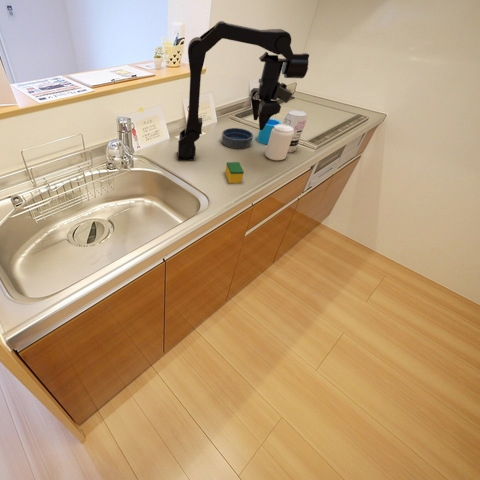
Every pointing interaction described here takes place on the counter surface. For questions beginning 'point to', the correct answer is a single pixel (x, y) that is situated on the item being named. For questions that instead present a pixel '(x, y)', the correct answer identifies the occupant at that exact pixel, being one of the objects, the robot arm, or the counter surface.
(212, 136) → the counter surface
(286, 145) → the beverage can
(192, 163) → the counter surface
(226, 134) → the bowl
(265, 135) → the mug
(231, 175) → the sponge
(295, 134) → the supplement can
